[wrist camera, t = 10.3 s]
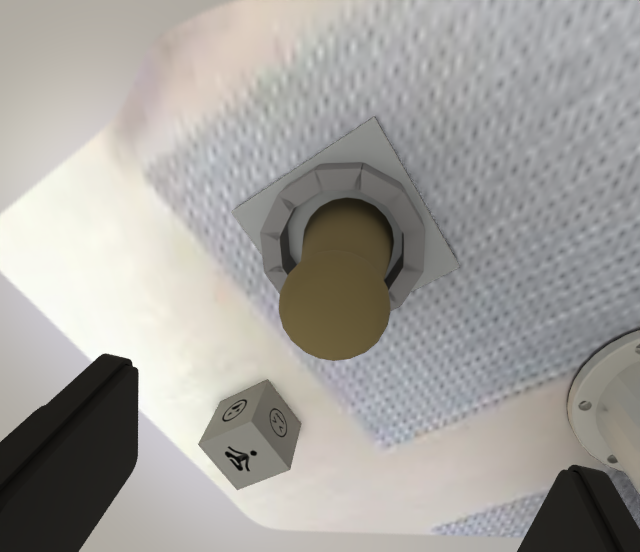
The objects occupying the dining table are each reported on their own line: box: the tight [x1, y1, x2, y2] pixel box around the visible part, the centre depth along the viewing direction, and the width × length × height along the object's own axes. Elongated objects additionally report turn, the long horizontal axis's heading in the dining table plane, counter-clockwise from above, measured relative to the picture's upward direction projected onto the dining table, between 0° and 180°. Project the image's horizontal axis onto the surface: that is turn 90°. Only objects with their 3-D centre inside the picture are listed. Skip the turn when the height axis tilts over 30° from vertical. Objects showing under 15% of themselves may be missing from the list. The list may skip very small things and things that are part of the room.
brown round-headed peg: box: [279, 197, 394, 361], centre depth 24 cm, size 6×6×11 cm
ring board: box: [231, 116, 460, 311], centre depth 28 cm, size 11×11×4 cm
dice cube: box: [198, 379, 301, 490], centre depth 35 cm, size 5×5×5 cm
